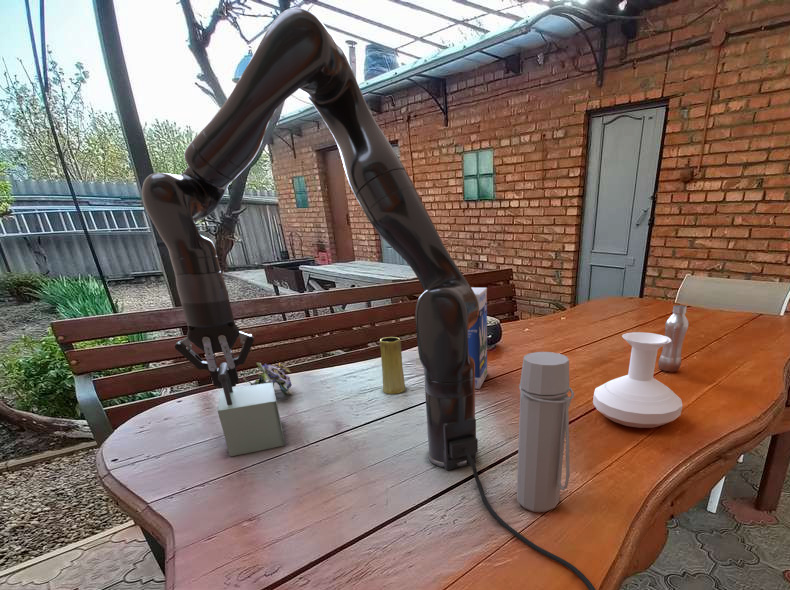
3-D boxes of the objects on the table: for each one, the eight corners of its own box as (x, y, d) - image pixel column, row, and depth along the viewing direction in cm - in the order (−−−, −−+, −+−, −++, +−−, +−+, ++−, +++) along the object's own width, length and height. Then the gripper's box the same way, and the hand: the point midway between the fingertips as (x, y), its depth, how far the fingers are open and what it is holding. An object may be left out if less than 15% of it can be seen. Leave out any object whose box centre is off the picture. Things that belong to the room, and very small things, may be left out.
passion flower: (291, 413, 115) (299, 385, 107) (246, 416, 108) (251, 387, 101) (284, 380, 120) (290, 352, 112) (240, 381, 113) (244, 351, 106)
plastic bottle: (652, 368, 134) (663, 305, 126) (668, 366, 137) (679, 303, 129) (668, 375, 129) (680, 309, 121) (684, 372, 132) (697, 307, 124)
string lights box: (480, 389, 117) (479, 294, 107) (453, 388, 118) (450, 293, 108) (487, 373, 129) (487, 287, 119) (463, 372, 130) (461, 286, 120)
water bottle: (505, 501, 71) (508, 358, 61) (535, 482, 76) (543, 347, 66) (549, 528, 65) (560, 373, 55) (578, 505, 70) (594, 360, 60)
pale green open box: (269, 371, 81) (208, 379, 77) (285, 445, 88) (230, 456, 84) (266, 354, 91) (212, 361, 87) (281, 422, 98) (231, 432, 93)
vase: (408, 386, 119) (404, 336, 113) (402, 394, 114) (397, 342, 108) (387, 385, 120) (382, 336, 114) (380, 393, 114) (374, 342, 108)
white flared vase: (605, 394, 114) (613, 323, 107) (684, 410, 105) (700, 334, 97) (579, 422, 98) (587, 341, 91) (670, 444, 89) (688, 356, 81)
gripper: (155, 304, 71) (184, 399, 78) (247, 298, 77) (266, 386, 84) (162, 297, 78) (188, 386, 84) (247, 292, 83) (265, 375, 90)
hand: (227, 386), depth 84 cm, fingers closed on pale green open box
